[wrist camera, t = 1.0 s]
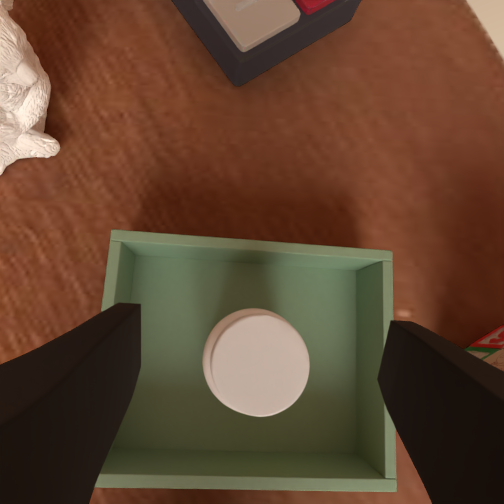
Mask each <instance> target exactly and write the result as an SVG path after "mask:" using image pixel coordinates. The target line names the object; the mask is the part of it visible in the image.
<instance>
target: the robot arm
mask: <svg viewBox="0 0 504 504" xmlns="http://www.w3.org/2000/svg"><path fill="white" fill-rule="evenodd" d="M140 368H141V304H135V303H120V302H119V303H117V304H115V305H113V306H111V307H109V308H108V309H106V310H104V311H103V312H101V313H99V314H98V315H96V316H94V317H93V318H91V319H89V320H88V321H86V322H84V323H83V324H81V325H79V326H78V327H76V328H74V329H72V330H71V331H69V332H67V333H65V334H63V335H61V336H60V337H58V338H56V339H54V340H52V341H50V342H48V343H46V344H44V345H43V346H41V347H39V348H37V349H35V350H33V351H31V352H28V353H26V354H24V355H22V356H20V357H17V358H15V359H13V360H10V361H8V362H5V363H3V364H1V365H0V504H89V502H90V499H91V496H92V493H93V490H94V487H95V484H96V482H97V479H98V476H99V474H100V471H101V469H102V466H103V464H104V462H105V460H106V457H107V455H108V453H109V450H110V448H111V446H112V443H113V441H114V439H115V437H116V434H117V432H118V430H119V427H120V425H121V423H122V420H123V418H124V416H125V413H126V411H127V409H128V406H129V404H130V402H131V399H132V397H133V393H134V390H135V387H136V383H137V380H138V376H139V372H140ZM377 381H378V384H379V387H380V390H381V394H382V397H383V400H384V403H385V405H386V408H387V411H388V413H389V415H390V417H391V419H392V421H393V423H394V426H395V428H396V430H397V432H398V434H399V436H400V438H401V440H402V442H403V444H404V446H405V448H406V450H407V452H408V454H409V456H410V458H411V460H412V462H413V464H414V466H415V468H416V470H417V472H418V474H419V476H420V478H421V480H422V482H423V484H424V486H425V488H426V491H427V493H428V495H429V497H430V500H431V502H432V504H504V371H502V370H500V369H498V368H496V367H494V366H492V365H491V364H489V363H487V362H485V361H483V360H481V359H480V358H478V357H476V356H474V355H472V354H471V353H469V352H467V351H465V350H464V349H462V348H460V347H458V346H457V345H455V344H453V343H451V342H450V341H448V340H446V339H444V338H443V337H441V336H439V335H437V334H436V333H434V332H432V331H430V330H428V329H426V328H424V327H422V326H420V325H418V324H416V323H413V322H411V321H395V320H391V321H390V325H389V329H388V334H387V338H386V342H385V347H384V351H383V356H382V360H381V364H380V369H379V373H378V377H377Z"/></svg>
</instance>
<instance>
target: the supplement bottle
mask: <svg viewBox="0 0 504 504" xmlns="http://www.w3.org/2000/svg"><path fill="white" fill-rule="evenodd" d="M202 365H203V372H204V376H205V379H206V381H207V384H208V386H209V388H210V390H211V391H212V393H213V394H214V395H215V396H216V397H217V399H218V400H219V401H221V402H222V403H223V404H224V405H226V406H227V407H229V408H231V409H233V410H235V411H237V412H240V413H243V414H246V415H250V416H257V417H263V416H270V415H274V414H277V413H279V412H282V411H284V410H285V409H287V408H288V407H290V406H291V405H292V404H293V403H294V402H295V401H296V400H297V399H298V398H299V396H300V395H301V393H302V392H303V390H304V388H305V386H306V383H307V380H308V376H309V368H310V362H309V354H308V350H307V347H306V345H305V342H304V341H303V339H302V337H301V335H300V334H299V333H298V332H297V330H296V329H295V328H294V327H293V326H292V325H291V324H290V323H289V322H288V321H286V320H285V319H284V318H282V317H281V316H279V315H278V314H276V313H273V312H271V311H268V310H264V309H259V308H249V309H242V310H239V311H236V312H234V313H231V314H229V315H228V316H226V317H225V318H223V319H222V320H221V321H220V322H218V323H217V324H216V326H215V327H214V328H213V329H212V331H211V332H210V334H209V336H208V338H207V340H206V343H205V346H204V350H203V358H202Z"/></svg>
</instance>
